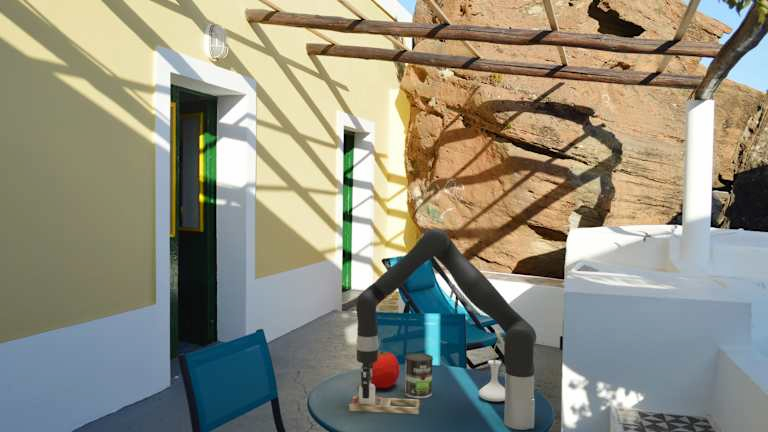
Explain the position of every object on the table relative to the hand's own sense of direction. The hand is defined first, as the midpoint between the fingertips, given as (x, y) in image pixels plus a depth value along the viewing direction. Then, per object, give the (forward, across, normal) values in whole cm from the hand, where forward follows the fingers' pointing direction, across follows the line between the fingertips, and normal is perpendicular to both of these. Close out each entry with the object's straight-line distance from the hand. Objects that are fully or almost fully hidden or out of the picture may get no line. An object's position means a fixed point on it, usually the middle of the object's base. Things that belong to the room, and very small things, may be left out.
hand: (366, 394), depth 214 cm
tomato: (+5, +21, -2) cm, 22 cm away
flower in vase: (+5, +15, -46) cm, 48 cm away
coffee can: (+5, +16, -18) cm, 24 cm away
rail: (+4, 0, -6) cm, 8 cm away
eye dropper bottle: (+5, 0, 0) cm, 5 cm away
